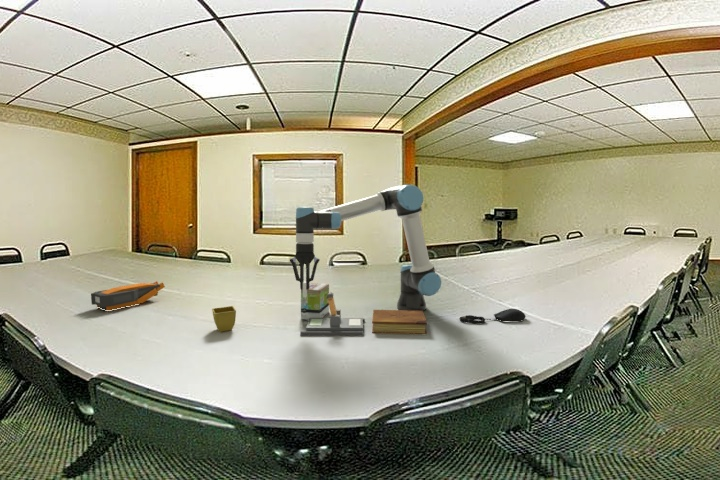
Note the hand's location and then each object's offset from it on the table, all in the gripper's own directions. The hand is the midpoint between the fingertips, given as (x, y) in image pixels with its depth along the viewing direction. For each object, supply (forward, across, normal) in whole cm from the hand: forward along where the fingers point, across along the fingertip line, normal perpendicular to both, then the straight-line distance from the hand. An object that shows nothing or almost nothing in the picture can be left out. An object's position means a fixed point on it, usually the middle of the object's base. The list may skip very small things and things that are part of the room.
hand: (304, 296), depth 164 cm
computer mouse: (+14, -87, -12) cm, 89 cm away
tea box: (+14, -2, -19) cm, 24 cm away
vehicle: (+15, +100, -40) cm, 108 cm away
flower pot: (+15, +35, +2) cm, 38 cm away
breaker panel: (+14, -13, 0) cm, 19 cm away
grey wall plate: (+14, -13, 0) cm, 19 cm away
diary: (+14, -41, -2) cm, 44 cm away
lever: (+11, -13, 0) cm, 17 cm away
